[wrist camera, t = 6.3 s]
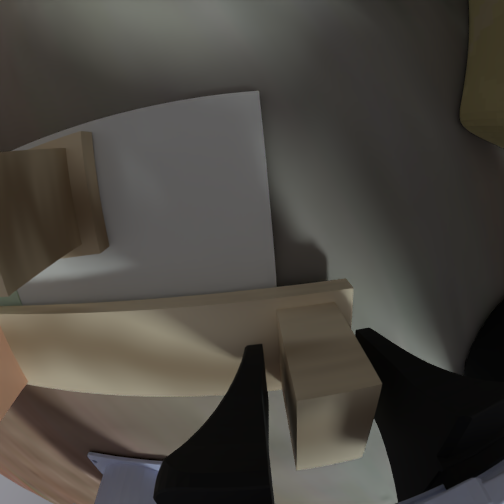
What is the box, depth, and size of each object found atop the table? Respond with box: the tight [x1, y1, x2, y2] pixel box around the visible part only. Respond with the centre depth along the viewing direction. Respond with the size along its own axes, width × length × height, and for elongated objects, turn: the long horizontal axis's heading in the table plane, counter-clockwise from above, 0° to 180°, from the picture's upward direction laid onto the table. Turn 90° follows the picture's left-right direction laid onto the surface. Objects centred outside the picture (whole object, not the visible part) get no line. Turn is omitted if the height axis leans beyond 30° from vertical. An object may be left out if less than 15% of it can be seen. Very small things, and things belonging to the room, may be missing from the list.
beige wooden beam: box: [0, 278, 382, 471], centre depth 10 cm, size 5×24×6 cm, turn 95°
